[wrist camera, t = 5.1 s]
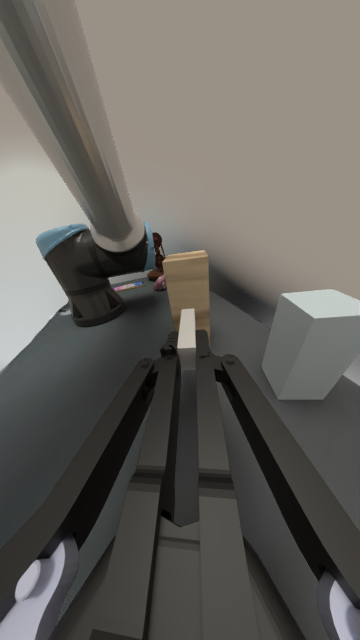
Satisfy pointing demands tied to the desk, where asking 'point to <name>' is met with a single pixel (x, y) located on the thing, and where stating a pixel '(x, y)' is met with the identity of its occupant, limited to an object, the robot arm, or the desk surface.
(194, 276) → the oak block
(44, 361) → the desk surface
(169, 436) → the robot arm
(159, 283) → the pink curved piece
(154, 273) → the scroll
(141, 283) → the smartphone
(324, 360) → the white block
